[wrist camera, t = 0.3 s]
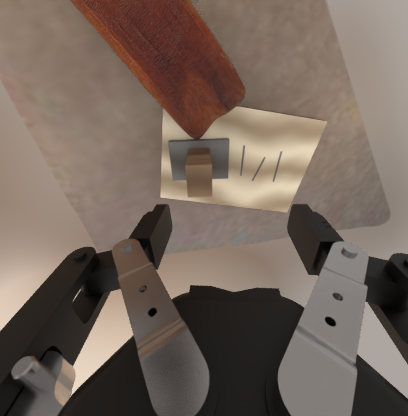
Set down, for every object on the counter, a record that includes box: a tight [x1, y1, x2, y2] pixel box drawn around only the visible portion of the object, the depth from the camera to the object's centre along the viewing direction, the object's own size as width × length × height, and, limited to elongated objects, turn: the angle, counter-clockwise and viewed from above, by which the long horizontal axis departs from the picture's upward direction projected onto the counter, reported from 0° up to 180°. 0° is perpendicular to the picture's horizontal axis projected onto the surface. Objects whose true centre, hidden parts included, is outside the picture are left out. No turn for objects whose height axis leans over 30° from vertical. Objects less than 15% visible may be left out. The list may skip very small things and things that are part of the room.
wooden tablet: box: [71, 0, 245, 139], centre depth 21 cm, size 27×10×2 cm, turn 42°
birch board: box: [161, 106, 327, 212], centre depth 31 cm, size 16×24×2 cm, turn 82°
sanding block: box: [168, 138, 230, 197], centre depth 26 cm, size 6×9×10 cm, turn 92°
